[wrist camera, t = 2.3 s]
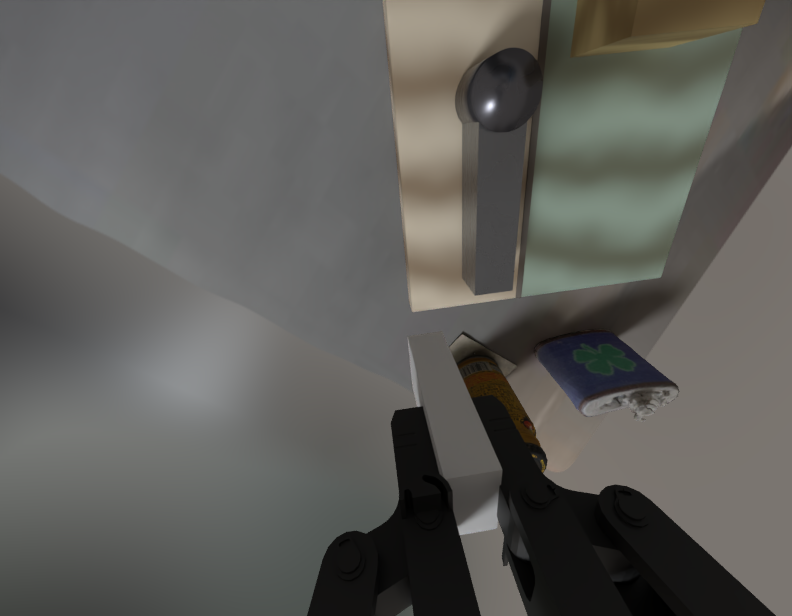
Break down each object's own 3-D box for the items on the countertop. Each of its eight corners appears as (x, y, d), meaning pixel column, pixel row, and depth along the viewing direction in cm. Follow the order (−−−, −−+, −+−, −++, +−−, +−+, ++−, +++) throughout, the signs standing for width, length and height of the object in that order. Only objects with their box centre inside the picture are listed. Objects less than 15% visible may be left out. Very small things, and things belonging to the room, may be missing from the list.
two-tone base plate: (382, 1, 21) (394, -59, 14) (734, -32, 22) (895, -102, 15) (409, 302, 31) (423, 346, 25) (644, 269, 32) (717, 304, 26)
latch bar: (454, 64, 21) (474, 51, 17) (515, 58, 21) (547, 43, 17) (456, 278, 28) (470, 299, 24) (501, 272, 28) (521, 292, 25)
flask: (532, 359, 37) (592, 436, 27) (534, 338, 35) (599, 412, 26) (610, 346, 37) (696, 418, 28) (615, 324, 36) (708, 392, 26)
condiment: (474, 405, 39) (517, 505, 29) (419, 379, 36) (445, 478, 26) (516, 364, 37) (579, 456, 26) (461, 332, 34) (507, 421, 23)
